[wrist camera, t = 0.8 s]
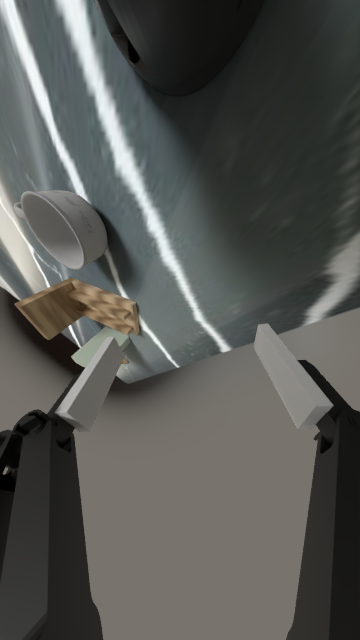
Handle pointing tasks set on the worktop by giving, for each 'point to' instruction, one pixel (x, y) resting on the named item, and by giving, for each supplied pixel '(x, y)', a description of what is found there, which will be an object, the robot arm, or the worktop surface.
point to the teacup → (64, 226)
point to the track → (78, 308)
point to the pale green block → (93, 345)
